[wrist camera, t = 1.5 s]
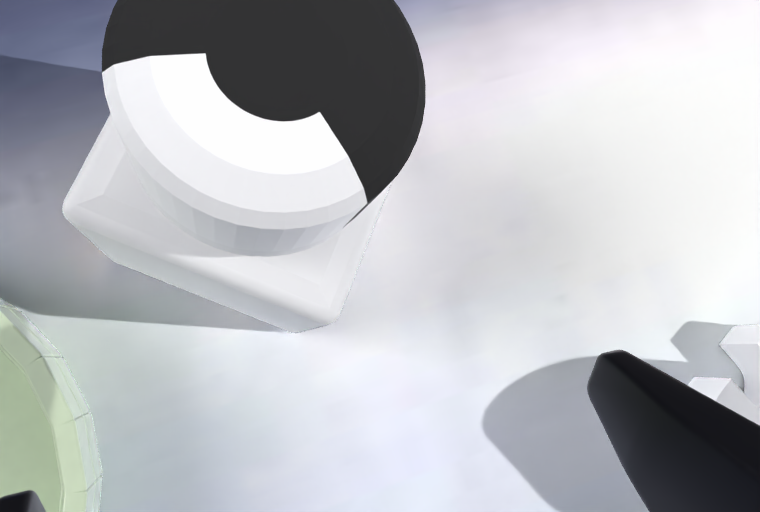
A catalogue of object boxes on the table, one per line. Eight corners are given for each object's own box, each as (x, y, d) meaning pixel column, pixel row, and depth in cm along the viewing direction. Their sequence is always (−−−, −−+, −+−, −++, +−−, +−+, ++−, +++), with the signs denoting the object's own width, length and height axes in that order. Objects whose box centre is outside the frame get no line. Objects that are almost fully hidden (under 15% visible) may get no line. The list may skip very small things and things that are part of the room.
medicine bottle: (193, 83, 22) (170, -199, 11) (368, 164, 24) (511, -12, 12) (105, 259, 21) (-30, 141, 9) (299, 336, 22) (390, 317, 11)
